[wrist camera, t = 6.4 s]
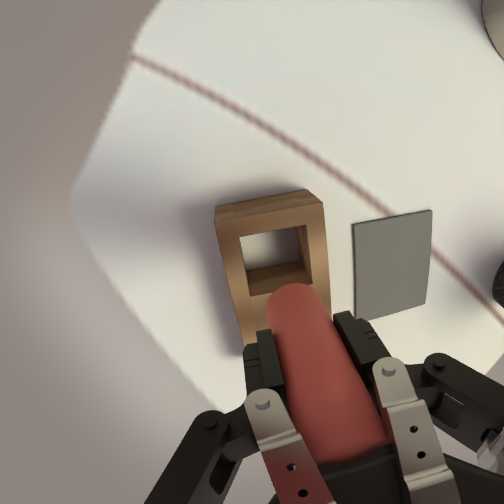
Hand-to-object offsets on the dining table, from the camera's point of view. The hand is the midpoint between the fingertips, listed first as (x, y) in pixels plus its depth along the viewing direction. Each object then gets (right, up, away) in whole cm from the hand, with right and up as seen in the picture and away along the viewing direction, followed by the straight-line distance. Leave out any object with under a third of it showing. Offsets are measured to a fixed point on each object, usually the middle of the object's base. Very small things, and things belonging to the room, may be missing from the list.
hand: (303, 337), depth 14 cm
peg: (0, +1, +2) cm, 3 cm away
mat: (+11, +2, +13) cm, 17 cm away
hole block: (0, +1, +12) cm, 12 cm away
